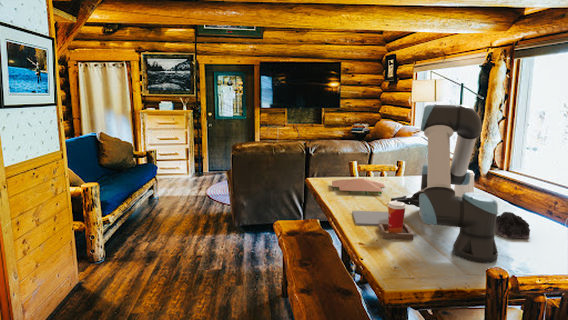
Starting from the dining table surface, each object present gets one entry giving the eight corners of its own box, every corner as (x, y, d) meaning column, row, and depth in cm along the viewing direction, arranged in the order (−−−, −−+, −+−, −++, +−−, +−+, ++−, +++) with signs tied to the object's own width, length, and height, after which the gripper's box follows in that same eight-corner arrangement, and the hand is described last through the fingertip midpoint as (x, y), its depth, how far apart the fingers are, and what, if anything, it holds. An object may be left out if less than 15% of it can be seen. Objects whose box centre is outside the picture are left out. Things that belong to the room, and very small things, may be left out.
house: (387, 197, 212) (388, 183, 211) (332, 195, 216) (332, 182, 215) (381, 187, 235) (382, 175, 233) (331, 185, 239) (332, 173, 237)
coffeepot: (459, 205, 196) (462, 171, 192) (448, 192, 220) (450, 163, 216) (480, 206, 193) (484, 172, 190) (466, 193, 217) (469, 163, 214)
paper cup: (390, 229, 161) (391, 199, 158) (406, 233, 156) (409, 202, 153) (383, 234, 155) (384, 203, 152) (400, 238, 150) (402, 207, 147)
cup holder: (413, 240, 149) (413, 234, 148) (383, 238, 150) (383, 233, 149) (406, 229, 161) (406, 223, 160) (378, 228, 162) (378, 222, 162)
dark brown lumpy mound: (530, 244, 146) (536, 221, 145) (493, 235, 152) (498, 213, 151) (526, 235, 158) (531, 214, 156) (492, 227, 164) (496, 207, 162)
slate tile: (395, 226, 164) (395, 224, 164) (356, 225, 166) (356, 223, 165) (387, 213, 182) (387, 211, 181) (352, 212, 183) (352, 210, 183)
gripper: (447, 210, 170) (432, 223, 154) (397, 200, 186) (379, 211, 170) (448, 195, 168) (433, 206, 153) (397, 187, 184) (379, 196, 168)
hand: (404, 209), depth 161 cm, fingers open, 13 cm apart
